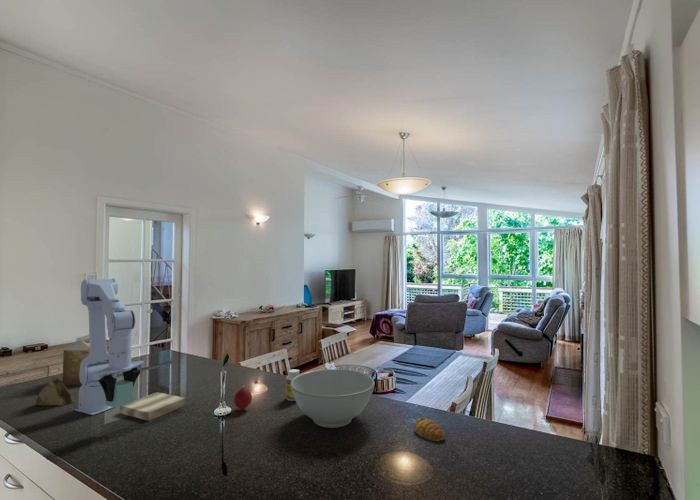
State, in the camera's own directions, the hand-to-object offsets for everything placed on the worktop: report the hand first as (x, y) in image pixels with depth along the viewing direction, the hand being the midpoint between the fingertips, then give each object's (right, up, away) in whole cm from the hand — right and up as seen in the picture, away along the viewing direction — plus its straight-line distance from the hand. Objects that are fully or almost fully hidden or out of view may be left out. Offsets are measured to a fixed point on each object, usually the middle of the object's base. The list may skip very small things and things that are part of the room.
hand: (119, 397), depth 110 cm
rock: (-35, -10, +19) cm, 41 cm away
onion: (+33, -10, +15) cm, 37 cm away
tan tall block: (-42, -11, +45) cm, 63 cm away
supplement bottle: (+49, -11, +25) cm, 56 cm away
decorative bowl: (+64, -10, +7) cm, 65 cm away
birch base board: (+2, -10, +15) cm, 18 cm away
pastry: (+92, -10, -2) cm, 93 cm away
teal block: (0, -2, 0) cm, 2 cm away
